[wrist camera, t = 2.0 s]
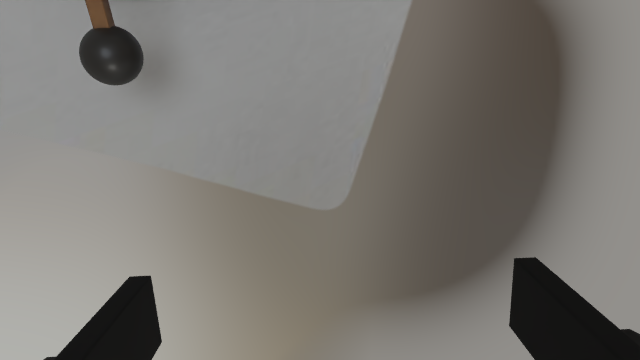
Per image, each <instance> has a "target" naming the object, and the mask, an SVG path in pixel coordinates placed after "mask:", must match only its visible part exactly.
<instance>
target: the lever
mask: <svg viewBox="0 0 640 360" xmlns="http://www.w3.org/2000/svg"><path fill="white" fill-rule="evenodd" d="M85 2H86V5H87V8H88V12H89V15H90V19H91V22H92V25H93V29H91V30H90V31H89V32H88V33H86V35H85V36H84V37H83V39H82V41H81V43H80V48H79V55H80V60H81V63H82V65H83V67H84V68H85V70H86V71H87V72H88V73H89V74H90V75H91V76H92V77H93V78H94V79H96V80H98V81H100V82H102V83H104V84H108V85H123V84H126V83H128V82H130V81H132V80H133V79H135V78H136V77H137V76H138V74H139V73H140V71H141V69H142V66H143V51H142V48H141V46H140V44H139V42H138V41H137V40H136V38H135V37H134V36H133V35H132V34H130V33H129V32H128V31H126V30H124V29H122V28H120V27H117V26H115V24H114V21H113V17H112V13H111V9H110V6H109V2H108V0H85Z"/></svg>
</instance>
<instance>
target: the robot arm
mask: <svg viewBox="0 0 640 360" xmlns="http://www.w3.org/2000/svg"><path fill="white" fill-rule="evenodd" d="M509 326H510V327H511V329H512V330H513V331H514V333H515V334H516V335H517V337H518V338H519V339H520V341H521V342H522V343H523V345H524V346H525V347H526V349H527V350H528V351H529V353H530V354H531V355H532V357H533V358H534V359H535V360H640V334H638V333H636V332H634V331H632V330H630V329H625V330H624V329H622V330H620V329H619V328H618V327H616V326H615V325H614V324H613V323H612V322H611V321H609V320H608V319H607V318H606V317H605V316H603V315H602V314H601V313H600V312H599V311H598V310H596V309H595V308H594V307H593V306H592V305H591V304H590V303H588V302H587V301H586V300H585V299H584V298H583V297H581V296H580V295H579V294H578V293H577V292H576V291H574V290H573V289H572V288H571V287H570V286H568V285H567V284H566V283H565V282H564V281H563V280H561V279H560V278H559V277H558V276H557V275H556V274H554V273H553V272H552V271H550V269H549V268H547V267H546V266H545V265H544V264H543V263H542V262H540V261H539V260H538V259H537V258H515V259H514V269H513V283H512V296H511V311H510V323H509ZM161 342H162V340H161V334H160V328H159V322H158V317H157V311H156V304H155V298H154V293H153V286H152V280H151V276H136V277H135V276H134V277H129V278H128V279H127V280H126V281H125V282H124V283H123V285H122V286H121V287H120V288H119V289H118V290H117V291H116V293H114V294H113V295H112V297H111V298H110V299H109V300H108V301H107V302H106V303H105V304H104V305H103V307H102V308H101V309H100V310H99V311H98V312H97V313H96V314H95V315H94V316H93V317H92V318H91V320H90V321H89V322H88V323H87V324H86V325H85V326H84V327H83V328H82V329H81V330H80V332H79V333H78V334H77V335H76V336H75V337H74V338H73V339H72V341H70V342H69V344H68V345H67V346H66V347H65V348H64V349H63V350H62V351H61V352H60V354H58V356H57V357H47V358H45V359H44V360H152V358H153V356H154V354H155V353H156V351H157V349H158V347H159V346H160V344H161Z"/></svg>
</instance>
